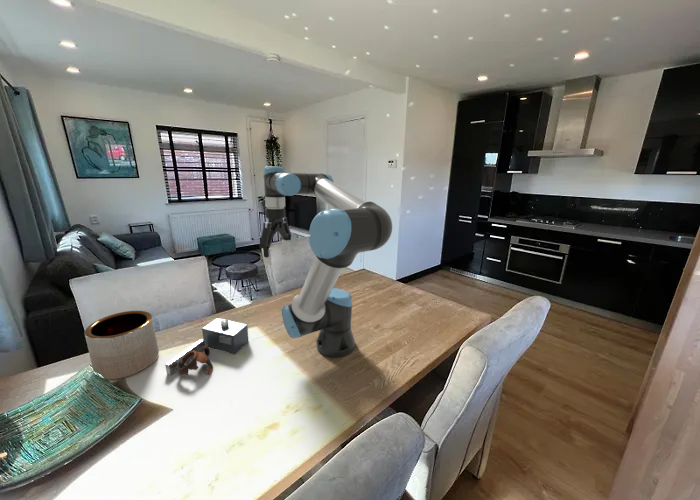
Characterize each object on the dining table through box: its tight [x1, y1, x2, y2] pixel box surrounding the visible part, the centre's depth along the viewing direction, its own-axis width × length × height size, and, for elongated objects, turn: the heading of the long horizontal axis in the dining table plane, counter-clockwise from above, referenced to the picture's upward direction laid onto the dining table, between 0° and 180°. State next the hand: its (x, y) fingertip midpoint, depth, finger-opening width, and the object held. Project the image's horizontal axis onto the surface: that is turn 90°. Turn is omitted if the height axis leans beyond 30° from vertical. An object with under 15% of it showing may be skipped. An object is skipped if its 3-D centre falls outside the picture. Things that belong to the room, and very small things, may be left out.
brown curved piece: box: [176, 346, 214, 376], centre depth 95 cm, size 12×10×8 cm
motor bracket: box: [165, 317, 250, 376], centre depth 100 cm, size 14×24×10 cm, turn 163°
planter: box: [84, 310, 160, 380], centre depth 95 cm, size 18×18×16 cm
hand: (277, 259), depth 114 cm, fingers open, 13 cm apart
